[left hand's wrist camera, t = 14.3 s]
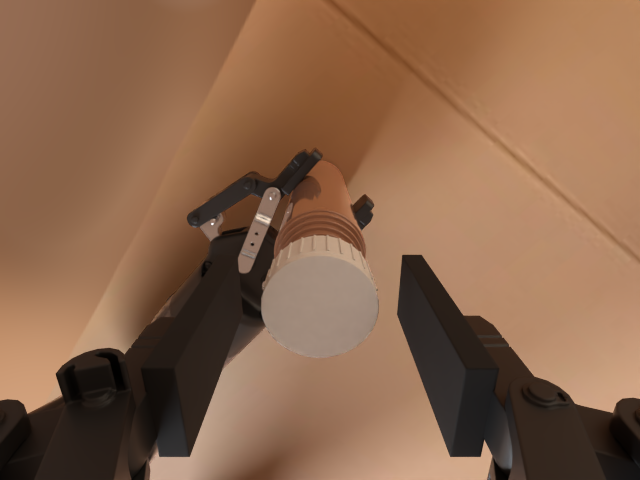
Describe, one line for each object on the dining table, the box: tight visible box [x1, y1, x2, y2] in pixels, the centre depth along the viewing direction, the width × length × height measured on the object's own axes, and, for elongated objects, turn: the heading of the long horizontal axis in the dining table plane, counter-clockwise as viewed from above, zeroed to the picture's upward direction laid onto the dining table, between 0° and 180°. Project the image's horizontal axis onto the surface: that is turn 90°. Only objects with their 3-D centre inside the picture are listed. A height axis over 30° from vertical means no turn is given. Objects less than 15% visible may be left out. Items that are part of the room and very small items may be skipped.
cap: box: [261, 235, 379, 358], centre depth 14 cm, size 4×4×2 cm
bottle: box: [274, 161, 366, 259], centre depth 23 cm, size 4×4×21 cm
